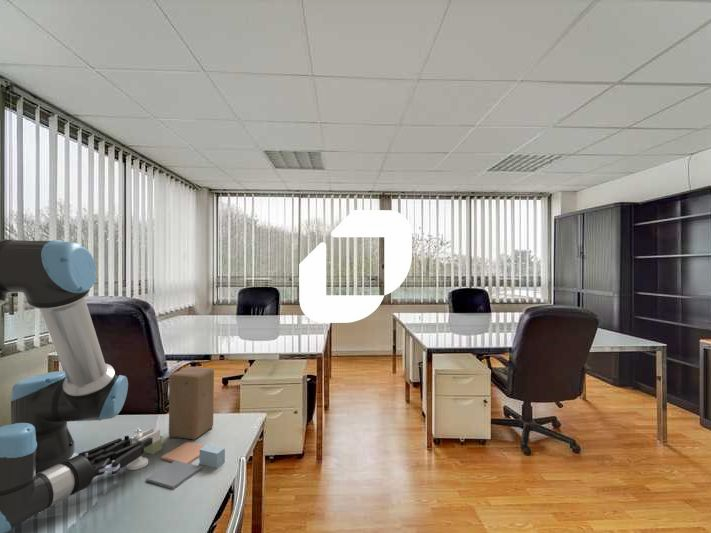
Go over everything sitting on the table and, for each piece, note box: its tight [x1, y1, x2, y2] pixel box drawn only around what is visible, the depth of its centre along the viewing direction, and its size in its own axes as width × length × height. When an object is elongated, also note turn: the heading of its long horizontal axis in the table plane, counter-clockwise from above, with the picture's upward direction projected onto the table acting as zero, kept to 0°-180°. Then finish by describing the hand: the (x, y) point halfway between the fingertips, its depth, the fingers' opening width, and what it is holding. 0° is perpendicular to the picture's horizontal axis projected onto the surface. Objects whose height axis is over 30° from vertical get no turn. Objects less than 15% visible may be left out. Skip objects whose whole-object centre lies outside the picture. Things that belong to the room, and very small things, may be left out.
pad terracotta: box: [161, 441, 205, 464], centre depth 102 cm, size 9×9×1 cm
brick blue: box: [198, 444, 226, 469], centre depth 98 cm, size 6×3×4 cm, turn 70°
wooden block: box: [168, 366, 215, 440], centre depth 116 cm, size 10×10×20 cm
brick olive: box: [144, 435, 163, 455], centre depth 104 cm, size 6×3×4 cm, turn 70°
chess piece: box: [126, 427, 149, 471], centre depth 97 cm, size 5×5×10 cm
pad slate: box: [145, 460, 202, 490], centre depth 92 cm, size 9×9×1 cm
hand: (155, 433), depth 102 cm, fingers closed on chess piece, 2 cm apart
